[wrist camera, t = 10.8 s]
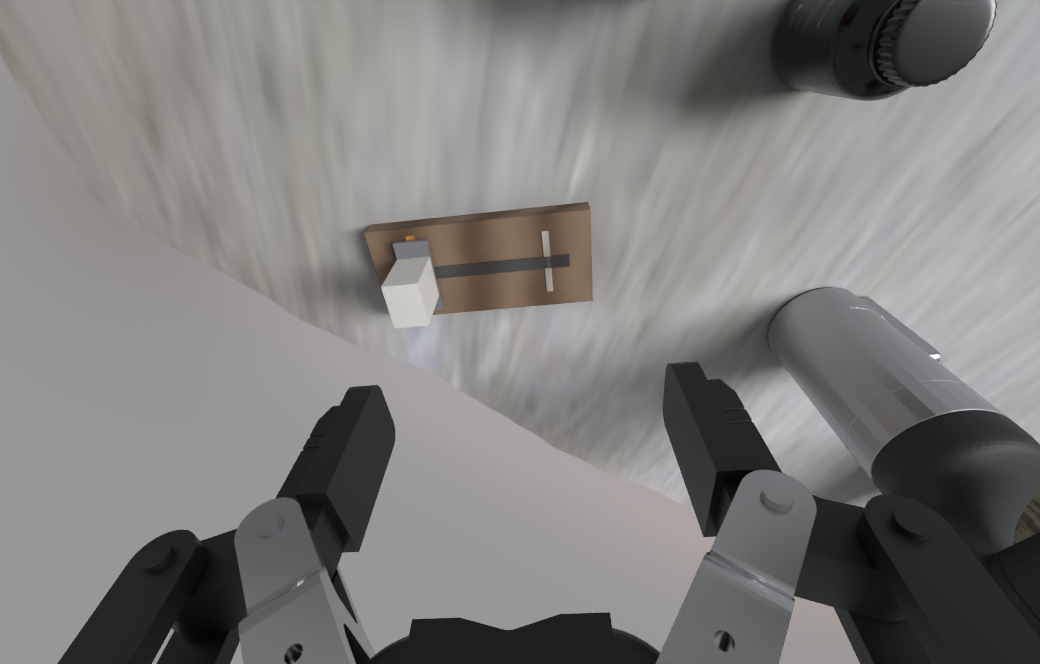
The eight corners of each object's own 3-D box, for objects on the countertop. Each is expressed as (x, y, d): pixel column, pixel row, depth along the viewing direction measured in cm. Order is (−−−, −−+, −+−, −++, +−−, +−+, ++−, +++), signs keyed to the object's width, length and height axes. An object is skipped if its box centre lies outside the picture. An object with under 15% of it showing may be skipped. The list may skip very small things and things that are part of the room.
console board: (587, 202, 40) (590, 209, 38) (590, 290, 45) (592, 301, 43) (370, 224, 41) (363, 233, 39) (396, 308, 46) (391, 318, 44)
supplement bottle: (886, 28, 32) (1045, 26, 22) (800, 109, 35) (906, 138, 25) (836, -51, 30) (990, -92, 20) (748, 43, 33) (844, 47, 23)
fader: (426, 238, 39) (412, 266, 35) (443, 306, 43) (432, 339, 39) (394, 241, 40) (375, 270, 35) (413, 309, 44) (398, 342, 39)
